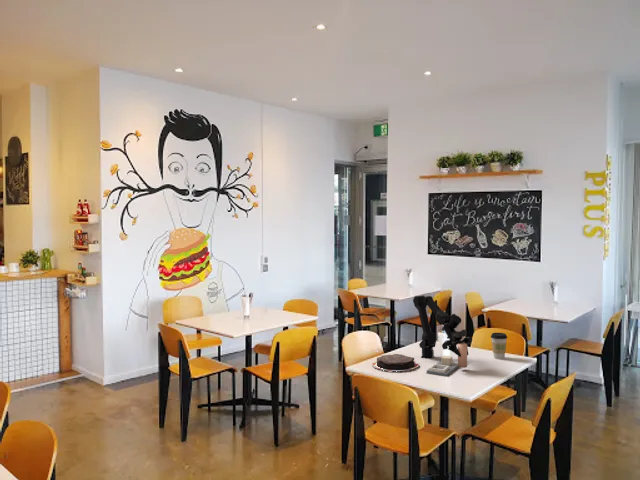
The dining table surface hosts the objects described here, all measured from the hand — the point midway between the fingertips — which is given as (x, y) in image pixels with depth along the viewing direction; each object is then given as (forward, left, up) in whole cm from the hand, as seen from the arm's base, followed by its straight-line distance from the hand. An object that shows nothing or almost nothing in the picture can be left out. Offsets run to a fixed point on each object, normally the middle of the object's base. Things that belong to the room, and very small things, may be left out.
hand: (464, 355), depth 301 cm
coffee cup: (+11, +36, -9) cm, 39 cm away
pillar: (-1, +1, -7) cm, 7 cm away
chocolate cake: (-39, -9, -9) cm, 41 cm away
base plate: (-11, -3, -9) cm, 15 cm away
